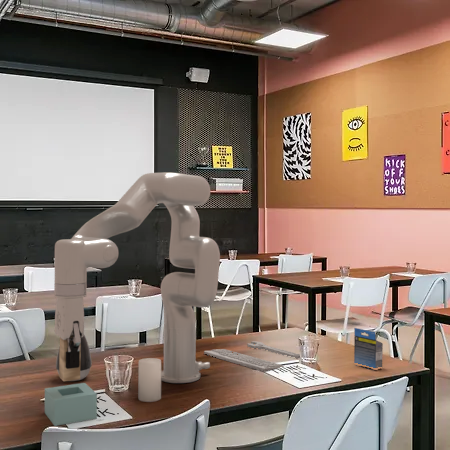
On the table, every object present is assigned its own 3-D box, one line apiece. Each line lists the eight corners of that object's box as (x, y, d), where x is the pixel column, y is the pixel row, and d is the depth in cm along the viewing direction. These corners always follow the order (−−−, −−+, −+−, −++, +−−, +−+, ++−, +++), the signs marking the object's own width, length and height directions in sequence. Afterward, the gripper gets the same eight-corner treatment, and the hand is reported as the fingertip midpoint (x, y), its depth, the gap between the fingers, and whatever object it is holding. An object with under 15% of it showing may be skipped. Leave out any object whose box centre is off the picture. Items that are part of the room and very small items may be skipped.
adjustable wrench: (303, 359, 197) (303, 354, 196) (289, 362, 193) (289, 357, 193) (256, 345, 217) (256, 340, 217) (243, 347, 213) (243, 342, 213)
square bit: (75, 375, 142) (76, 334, 142) (80, 379, 138) (80, 337, 138) (59, 377, 140) (59, 336, 140) (63, 381, 136) (63, 339, 136)
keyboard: (285, 368, 186) (286, 362, 186) (263, 374, 179) (264, 367, 179) (225, 351, 207) (225, 345, 207) (203, 356, 200) (203, 350, 200)
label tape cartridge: (383, 369, 184) (383, 330, 183) (375, 371, 181) (375, 332, 181) (361, 363, 191) (361, 326, 190) (353, 364, 188) (353, 327, 188)
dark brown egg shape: (80, 371, 177) (80, 322, 177) (97, 379, 170) (98, 328, 169) (49, 378, 170) (49, 327, 170) (66, 386, 163) (66, 332, 162)
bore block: (84, 406, 146) (84, 382, 146) (96, 418, 138) (96, 393, 138) (44, 412, 141) (44, 388, 141) (54, 426, 133) (54, 400, 133)
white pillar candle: (155, 393, 157) (155, 357, 157) (164, 399, 152) (164, 362, 152) (135, 396, 154) (135, 359, 154) (143, 403, 149) (143, 365, 149)
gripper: (46, 287, 144) (46, 359, 144) (63, 295, 130) (63, 376, 130) (76, 285, 148) (75, 356, 148) (96, 293, 133) (95, 372, 134)
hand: (69, 364), depth 139 cm, fingers closed on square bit, 4 cm apart
